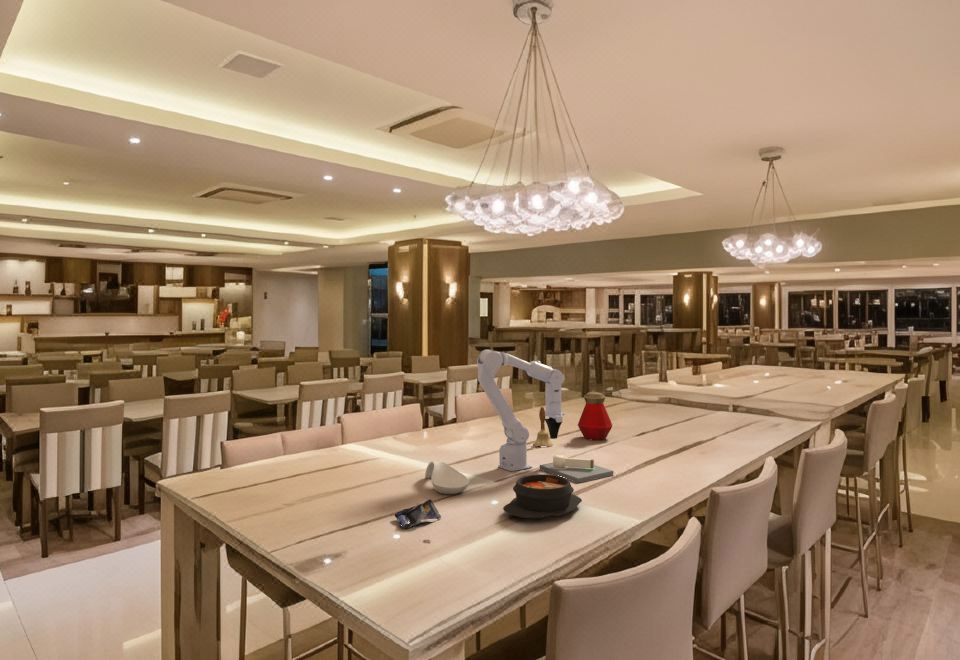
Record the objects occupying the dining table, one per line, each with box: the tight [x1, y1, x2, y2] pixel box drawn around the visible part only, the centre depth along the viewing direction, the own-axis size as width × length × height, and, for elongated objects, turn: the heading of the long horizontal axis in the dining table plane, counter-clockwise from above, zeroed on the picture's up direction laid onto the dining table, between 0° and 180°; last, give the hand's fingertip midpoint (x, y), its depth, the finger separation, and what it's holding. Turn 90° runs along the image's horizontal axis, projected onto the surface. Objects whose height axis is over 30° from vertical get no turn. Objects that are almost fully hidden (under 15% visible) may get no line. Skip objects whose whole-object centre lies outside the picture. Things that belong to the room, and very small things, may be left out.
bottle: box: [577, 391, 613, 441], centre depth 255 cm, size 16×14×20 cm
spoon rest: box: [424, 459, 470, 495], centre depth 186 cm, size 24×12×7 cm, turn 25°
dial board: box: [539, 462, 614, 484], centre depth 201 cm, size 16×20×2 cm
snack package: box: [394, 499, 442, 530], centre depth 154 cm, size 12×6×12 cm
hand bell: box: [532, 406, 554, 447], centre depth 243 cm, size 8×8×16 cm
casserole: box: [502, 473, 583, 520], centre depth 162 cm, size 25×19×8 cm
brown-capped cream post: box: [552, 454, 595, 468], centre depth 200 cm, size 14×4×3 cm, turn 73°
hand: (553, 438), depth 212 cm, fingers closed
